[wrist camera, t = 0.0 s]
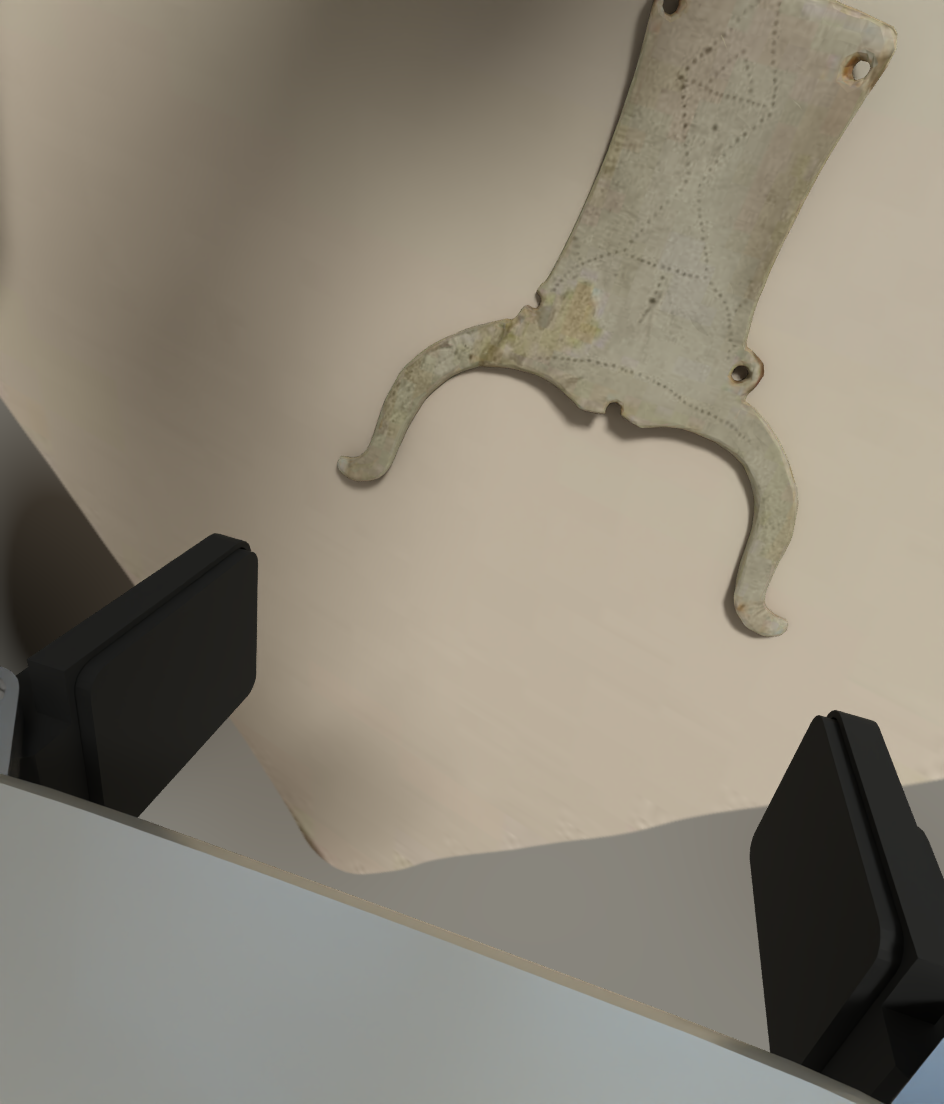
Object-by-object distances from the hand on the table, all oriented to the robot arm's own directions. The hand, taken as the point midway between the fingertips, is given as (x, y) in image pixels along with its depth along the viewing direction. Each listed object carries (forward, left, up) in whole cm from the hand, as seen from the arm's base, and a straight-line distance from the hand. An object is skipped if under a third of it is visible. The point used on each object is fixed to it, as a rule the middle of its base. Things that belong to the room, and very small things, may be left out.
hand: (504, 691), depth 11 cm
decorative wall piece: (-2, 0, -32) cm, 32 cm away
